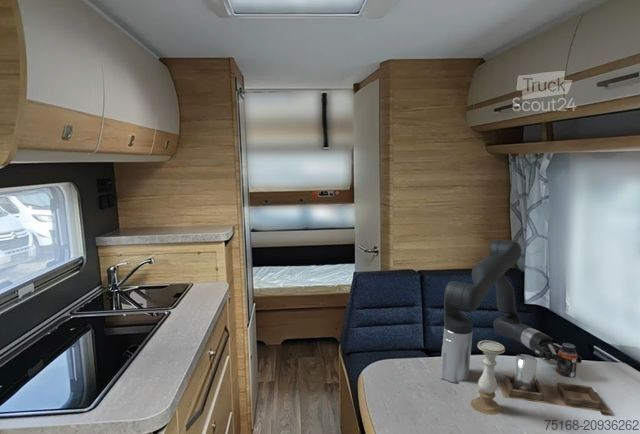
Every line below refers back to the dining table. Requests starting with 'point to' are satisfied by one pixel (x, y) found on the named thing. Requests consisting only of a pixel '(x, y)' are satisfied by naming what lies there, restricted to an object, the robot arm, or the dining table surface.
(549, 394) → the wooden divided tray
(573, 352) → the supplement bottle
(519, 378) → the can
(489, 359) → the candle holder
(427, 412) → the dining table surface
